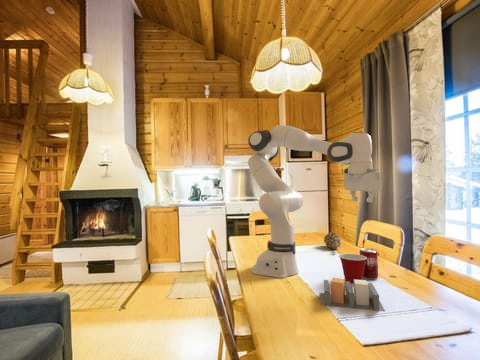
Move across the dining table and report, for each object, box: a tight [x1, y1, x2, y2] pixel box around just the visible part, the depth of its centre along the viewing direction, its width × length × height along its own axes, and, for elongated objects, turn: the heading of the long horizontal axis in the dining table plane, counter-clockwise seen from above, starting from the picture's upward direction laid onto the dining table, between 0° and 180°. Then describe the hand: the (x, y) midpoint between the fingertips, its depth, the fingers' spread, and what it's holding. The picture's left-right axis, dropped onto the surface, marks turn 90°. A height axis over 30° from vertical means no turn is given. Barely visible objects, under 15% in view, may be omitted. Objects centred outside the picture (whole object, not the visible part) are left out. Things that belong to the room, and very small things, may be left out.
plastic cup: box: [338, 253, 367, 285], centre depth 110 cm, size 11×11×12 cm
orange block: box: [330, 277, 346, 304], centre depth 93 cm, size 4×4×7 cm
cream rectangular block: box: [353, 279, 369, 306], centre depth 90 cm, size 4×4×7 cm
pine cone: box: [323, 231, 342, 250], centre depth 163 cm, size 22×10×10 cm, turn 2°
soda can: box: [359, 247, 379, 280], centre depth 117 cm, size 7×7×12 cm
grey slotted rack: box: [319, 279, 386, 312], centre depth 91 cm, size 20×10×6 cm, turn 75°
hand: (362, 201), depth 113 cm, fingers open, 8 cm apart
